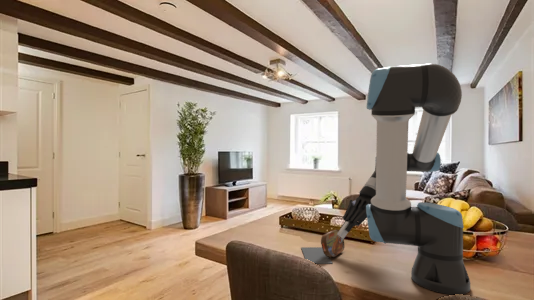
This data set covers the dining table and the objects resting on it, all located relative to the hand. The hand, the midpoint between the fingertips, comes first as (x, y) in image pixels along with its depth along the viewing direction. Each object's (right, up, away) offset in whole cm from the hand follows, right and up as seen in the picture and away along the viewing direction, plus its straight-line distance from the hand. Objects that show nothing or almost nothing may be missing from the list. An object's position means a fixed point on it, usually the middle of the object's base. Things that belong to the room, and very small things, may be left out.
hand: (339, 236), depth 109 cm
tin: (-2, -6, -2) cm, 7 cm away
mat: (-10, -6, -2) cm, 12 cm away
